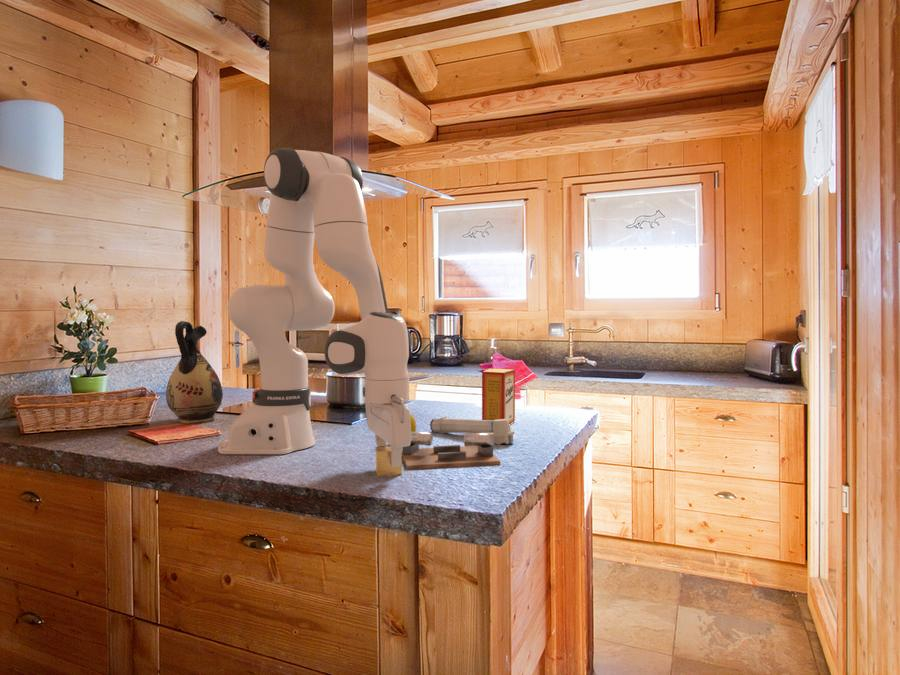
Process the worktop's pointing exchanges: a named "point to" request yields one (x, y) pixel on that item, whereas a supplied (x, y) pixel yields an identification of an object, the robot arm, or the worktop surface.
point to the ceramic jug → (193, 380)
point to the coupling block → (386, 462)
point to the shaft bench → (448, 457)
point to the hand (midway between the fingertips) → (388, 460)
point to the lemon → (413, 423)
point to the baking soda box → (498, 394)
